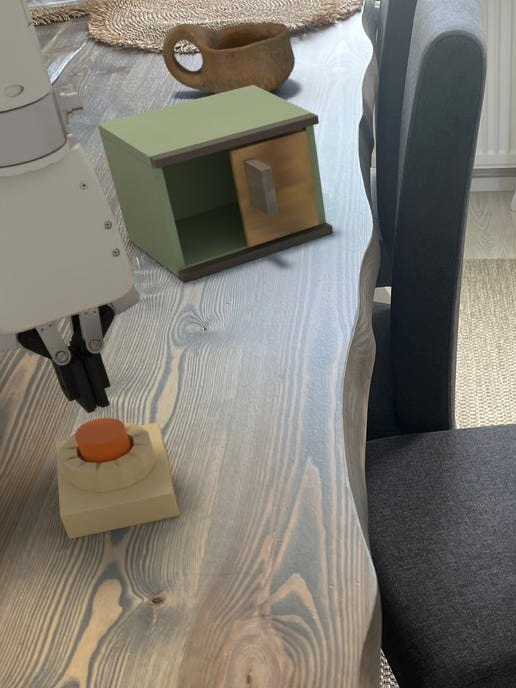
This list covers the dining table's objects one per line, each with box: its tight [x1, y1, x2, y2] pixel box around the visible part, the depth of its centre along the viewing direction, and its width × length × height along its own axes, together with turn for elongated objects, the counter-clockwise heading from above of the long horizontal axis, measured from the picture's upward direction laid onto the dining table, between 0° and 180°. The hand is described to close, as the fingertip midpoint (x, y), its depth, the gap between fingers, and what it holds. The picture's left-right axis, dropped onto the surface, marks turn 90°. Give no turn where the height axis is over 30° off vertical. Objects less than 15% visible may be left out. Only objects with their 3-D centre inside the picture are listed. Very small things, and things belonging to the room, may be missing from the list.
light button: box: [74, 417, 131, 463], centre depth 75 cm, size 4×4×2 cm
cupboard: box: [97, 85, 334, 283], centre depth 106 cm, size 18×13×12 cm
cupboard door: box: [229, 130, 319, 247], centre depth 103 cm, size 9×4×10 cm, turn 128°
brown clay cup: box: [162, 22, 296, 95], centre depth 141 cm, size 18×14×10 cm
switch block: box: [55, 421, 180, 540], centre depth 76 cm, size 10×8×4 cm
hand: (91, 401), depth 72 cm, fingers closed
